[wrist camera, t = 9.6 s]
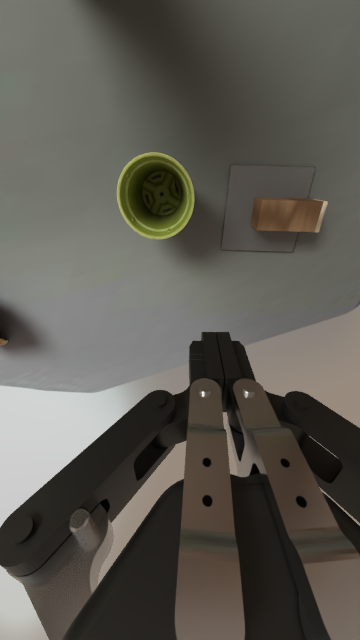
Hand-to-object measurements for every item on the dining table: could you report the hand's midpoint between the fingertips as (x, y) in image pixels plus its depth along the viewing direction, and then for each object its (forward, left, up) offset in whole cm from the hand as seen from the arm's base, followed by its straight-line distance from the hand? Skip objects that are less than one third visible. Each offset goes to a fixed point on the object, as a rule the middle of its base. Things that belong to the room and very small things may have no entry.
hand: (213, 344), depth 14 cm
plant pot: (-5, -5, -30) cm, 31 cm away
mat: (-3, +11, -30) cm, 32 cm away
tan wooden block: (-3, +18, -28) cm, 33 cm away
